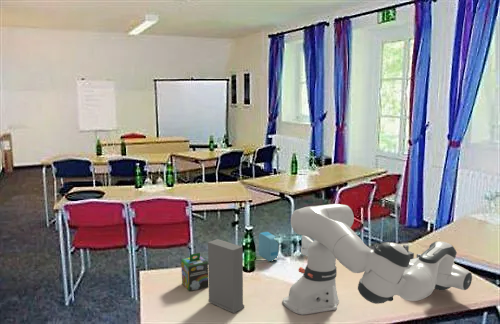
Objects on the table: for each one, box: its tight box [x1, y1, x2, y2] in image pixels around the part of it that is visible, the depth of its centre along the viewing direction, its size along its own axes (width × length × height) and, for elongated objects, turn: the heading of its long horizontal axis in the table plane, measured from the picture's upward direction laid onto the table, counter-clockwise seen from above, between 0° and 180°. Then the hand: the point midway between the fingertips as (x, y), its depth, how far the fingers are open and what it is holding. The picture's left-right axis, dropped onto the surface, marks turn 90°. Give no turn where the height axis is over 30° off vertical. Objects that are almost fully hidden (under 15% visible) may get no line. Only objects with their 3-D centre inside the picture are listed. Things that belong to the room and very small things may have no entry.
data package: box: [258, 231, 279, 262], centre depth 233 cm, size 12×4×12 cm, turn 27°
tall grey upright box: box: [207, 238, 245, 314], centre depth 182 cm, size 14×6×25 cm, turn 48°
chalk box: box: [180, 252, 209, 292], centre depth 201 cm, size 9×9×15 cm
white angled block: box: [300, 235, 314, 257], centre depth 239 cm, size 4×10×9 cm
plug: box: [402, 244, 415, 259], centre depth 211 cm, size 5×5×13 cm
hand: (410, 257), depth 209 cm, fingers open, 8 cm apart
